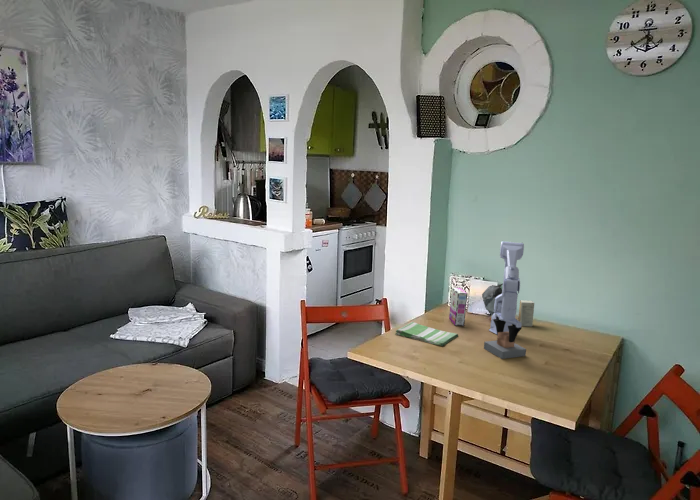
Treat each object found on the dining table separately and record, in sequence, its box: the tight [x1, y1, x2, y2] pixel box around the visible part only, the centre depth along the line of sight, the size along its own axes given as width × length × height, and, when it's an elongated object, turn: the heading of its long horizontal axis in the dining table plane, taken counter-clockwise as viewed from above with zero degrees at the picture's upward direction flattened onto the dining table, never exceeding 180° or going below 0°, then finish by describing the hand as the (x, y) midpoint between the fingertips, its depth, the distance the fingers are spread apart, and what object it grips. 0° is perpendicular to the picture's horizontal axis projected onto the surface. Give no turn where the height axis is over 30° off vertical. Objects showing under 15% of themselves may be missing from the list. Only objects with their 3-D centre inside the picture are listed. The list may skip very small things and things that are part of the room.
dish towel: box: [395, 321, 459, 347], centre depth 229 cm, size 18×23×3 cm
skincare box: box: [517, 299, 535, 327], centre depth 251 cm, size 6×4×12 cm
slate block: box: [483, 339, 527, 360], centre depth 213 cm, size 12×12×3 cm
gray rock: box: [481, 283, 503, 321], centre depth 258 cm, size 14×15×18 cm
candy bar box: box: [448, 287, 468, 327], centre depth 249 cm, size 11×5×16 cm, turn 5°
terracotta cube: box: [496, 332, 516, 348], centre depth 212 cm, size 5×5×5 cm
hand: (505, 338), depth 212 cm, fingers open, 7 cm apart
